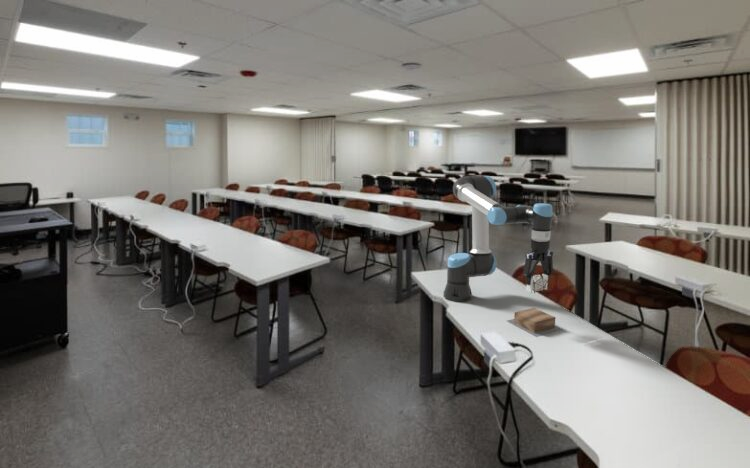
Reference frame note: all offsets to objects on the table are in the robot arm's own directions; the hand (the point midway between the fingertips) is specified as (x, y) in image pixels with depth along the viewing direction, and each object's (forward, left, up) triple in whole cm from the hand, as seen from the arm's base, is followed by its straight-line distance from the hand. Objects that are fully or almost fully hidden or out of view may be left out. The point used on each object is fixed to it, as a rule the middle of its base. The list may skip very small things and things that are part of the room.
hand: (536, 290), depth 173 cm
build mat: (0, 0, -17) cm, 17 cm away
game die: (0, 0, -1) cm, 1 cm away
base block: (0, 0, -17) cm, 17 cm away
